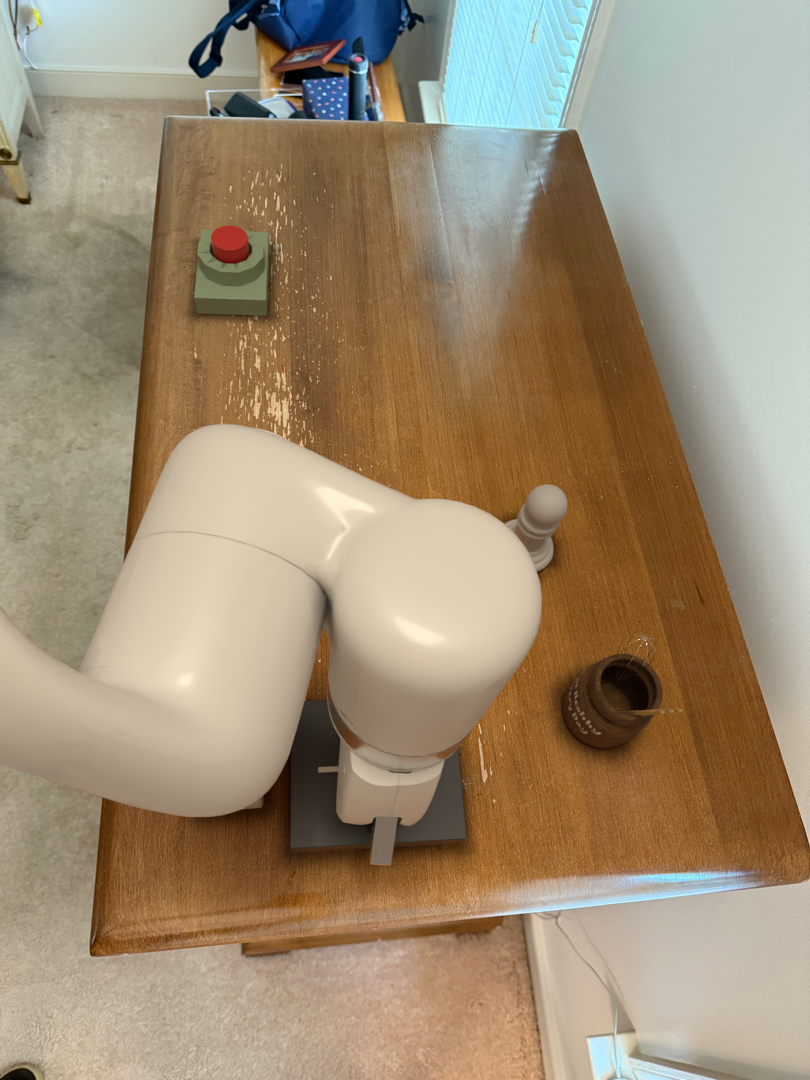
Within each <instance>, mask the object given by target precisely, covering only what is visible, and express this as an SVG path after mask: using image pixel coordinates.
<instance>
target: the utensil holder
mask: <svg viewBox="0 0 810 1080" xmlns="http://www.w3.org/2000/svg"><path fill="white" fill-rule="evenodd" d="M638 632H639V633H641V631H640V630H635V631H634V632H633V633H632V634H628V635H627V636H625V637H624V638H623V639H622V641H621V643H620V644H619V646H618V649H617V653H616V654H612V655H610V656H609V655H608V656H606V657H605V658H603V659H602V660H599V661H596V662H594V663H592V664H590V665H589V666H588V667H587V668H586V669H584V670H583V671H582V672H581V673H580V674H579V675H578V676H576V678H575V679H574V680H573V681H572V683H571V684H570V685H569V687H568V688H567V690H566V692H565V694H564V697H563V702H562V713H563V717H564V721H565V723H566V725H567V728H568V729H569V730H570V732H571V733H572V734H573V736H575V737H576V738H577V739H578V740H579V741H581V742H582V743H584V744H586V745H588V746H590V747H593V748H597V749H610V748H614V747H617V746H620V745H622V744H624V743H625V742H627V741H629V740H631V739H632V738H634V737H635V736H636V735H638V734H639V733H640V732H642V731H643V730H644V729H645V728H646V727H647V726H648V725H649V723H650V722H651V720H652V719H653V717H655V715H663V714H672V713H681V712H684V710H683V708H661V705H662V702H663V696H664V693H663V691H664V690H663V685H662V682H661V680H660V678H659V675H658V674H657V672H656V671H655V669H654V668H653V667H652V666H651V664H652V662H653V660H654V658H655V656H656V653H654V654H653V657H652V658H651V660H650V661H649V663H648V662H647V659H648V658H649V656H650V655H651V654H652V652H653V651H654V652H656V648H655V646H656V645H657V644H656V643H657V642H656V640H655V639H654V638H651V637H647V636H648V635H649V633H647V634H646V635H645V636H644V634H643V633H641V635H640V634H639V635H638V634H636V633H638ZM634 636H636V637H640V638H639V639H635V640H632V641H631V639H632V637H634ZM628 637H630V638H629V640H628V641H627V644H626V646H625V647H624V648H623V649H622V650H621V652H620V653H619V650H620V648H621V646H622V644H623V643H624V641H625V640H626V639H627V638H628ZM640 640H642V642H640V645H639V647H638V648H637V649H636V650H635V653H634V654H629V653H626V651H627V647H628V646H629V645H631V644H632V643H634V642H636V641H640ZM649 640H653V641H654V644H652V642H651V641H649ZM630 641H631V642H630ZM644 642H645V645H646V646H648V643H649V644H651V646H652V648H651V650H650V652H649V650H648V649H649V648H648V647H646V656H645V657H644V659H642V658H640V657H639V656H636V654H637V653H638V652H639V649H640V648H641V646H642V644H643V643H644ZM647 642H648V643H647ZM623 652H624V653H623ZM648 652H649V653H648Z"/></svg>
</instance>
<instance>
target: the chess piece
mask: <svg viewBox="0 0 810 1080" xmlns="http://www.w3.org/2000/svg"><path fill="white" fill-rule="evenodd" d="M568 506H569V504H568V499H567V496H566V494H565V492H564V491H563V490H562V489H561V488H560V487H558V486H557V485H555V484H550V483H545V484H540V485H537V486H536V487H534V488H533V489H531V490H530V491H529V493H528V494H527V496H526V499H525V503H524V504H522V506H521V508H520V510H519V512H518V514H517V517H516V518H515V519H511V520H509V521H506V522H505V523H504V524H505V525H506V526H507V527H508V528H509V529H510V530H511V531H512V532H514V533H515V534H516V536H517V537H518V538H519V539H520V541H521V542H522V543H523V545H524V546H525V547H526V549H527V550H528V552H529V554H530V556H531V558H532V560H533V562H534V564H535V567H536V571H537V573H539V572H540V571H542V570H544V569H545V568H546V567H547V566H549V564H550V563H551V561H552V559H553V556H554V548H555V547H554V542H553V539H552V536H553V535H554V534H555V532H556V530H557V529H558V527H559V525H560V522H561V520H563V519H564V518H565V517H566V515H567V512H568V508H569V507H568Z"/></svg>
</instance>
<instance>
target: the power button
mask: <svg viewBox="0 0 810 1080" xmlns="http://www.w3.org/2000/svg"><path fill="white" fill-rule="evenodd" d="M241 228H242V227H239V226H236V225H231V224H230V225H222V226H219V227H217V228H215V229H213V230H214V231H213V233H212V235H211V243H212V250H213V255H214V257H215V258H216V259H217V260H218V261H220V262H222V263H225V264H237V263H240V262H242V261H244V260H246V259H247V257H248V256H249V242H248V235H247V233H246V232H245V231H244V230H243V229H244V228H243V229H241Z"/></svg>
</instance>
